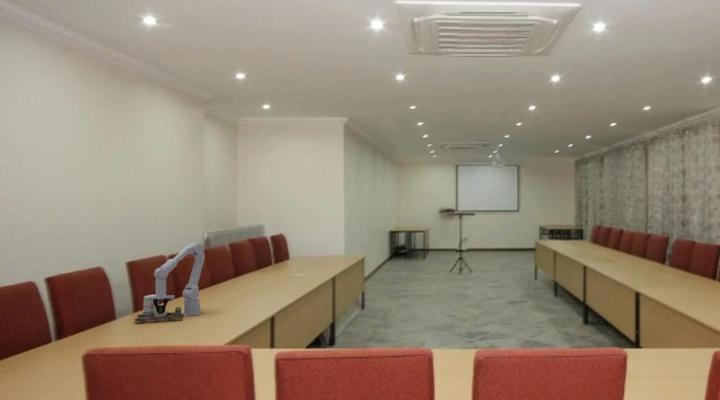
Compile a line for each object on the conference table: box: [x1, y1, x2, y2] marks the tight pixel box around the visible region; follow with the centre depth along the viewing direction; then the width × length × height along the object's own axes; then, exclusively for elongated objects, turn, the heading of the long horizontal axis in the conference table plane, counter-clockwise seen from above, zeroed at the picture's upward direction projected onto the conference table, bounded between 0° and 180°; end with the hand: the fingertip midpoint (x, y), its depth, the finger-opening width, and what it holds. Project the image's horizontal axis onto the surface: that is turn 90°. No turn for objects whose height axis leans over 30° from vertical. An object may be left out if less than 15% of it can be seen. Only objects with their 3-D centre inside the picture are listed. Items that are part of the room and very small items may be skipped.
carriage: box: [155, 304, 169, 317], centre depth 266 cm, size 7×7×7 cm
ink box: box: [142, 294, 160, 314], centre depth 278 cm, size 9×5×12 cm, turn 168°
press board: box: [134, 306, 184, 325], centre depth 265 cm, size 25×13×6 cm, turn 108°
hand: (160, 311), depth 265 cm, fingers closed on carriage, 3 cm apart
